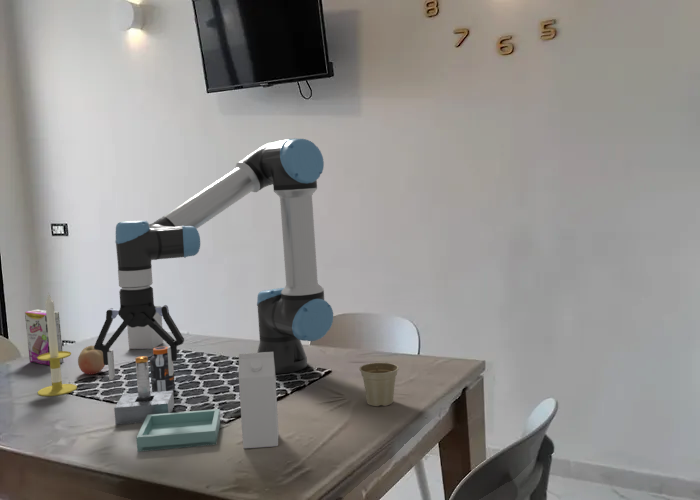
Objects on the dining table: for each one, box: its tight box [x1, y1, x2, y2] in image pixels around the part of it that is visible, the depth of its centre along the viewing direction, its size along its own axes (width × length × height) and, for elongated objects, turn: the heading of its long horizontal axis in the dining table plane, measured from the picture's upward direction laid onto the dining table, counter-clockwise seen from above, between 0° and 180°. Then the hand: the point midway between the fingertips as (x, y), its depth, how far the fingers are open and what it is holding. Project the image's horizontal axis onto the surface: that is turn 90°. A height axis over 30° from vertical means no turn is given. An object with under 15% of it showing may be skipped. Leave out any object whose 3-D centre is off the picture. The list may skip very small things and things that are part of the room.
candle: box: [37, 292, 78, 397], centre depth 189 cm, size 10×10×27 cm
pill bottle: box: [149, 346, 176, 392], centre depth 187 cm, size 6×6×11 cm
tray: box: [136, 408, 221, 452], centre depth 152 cm, size 16×14×3 cm
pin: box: [135, 355, 151, 402], centre depth 166 cm, size 3×3×14 cm
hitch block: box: [113, 390, 175, 426], centre depth 167 cm, size 12×10×4 cm
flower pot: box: [358, 362, 400, 407], centre depth 168 cm, size 9×9×9 cm
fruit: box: [77, 345, 106, 376], centre depth 206 cm, size 8×8×8 cm
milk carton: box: [238, 352, 280, 449], centre depth 146 cm, size 7×7×19 cm
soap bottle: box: [126, 305, 164, 350], centre depth 237 cm, size 9×9×19 cm
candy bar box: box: [24, 309, 64, 367], centre depth 221 cm, size 11×5×16 cm, turn 58°
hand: (141, 376), depth 166 cm, fingers open, 13 cm apart
